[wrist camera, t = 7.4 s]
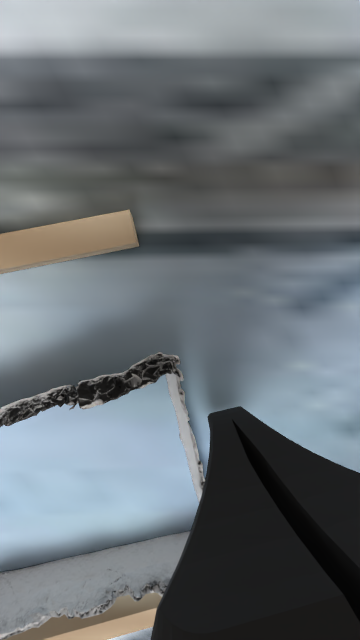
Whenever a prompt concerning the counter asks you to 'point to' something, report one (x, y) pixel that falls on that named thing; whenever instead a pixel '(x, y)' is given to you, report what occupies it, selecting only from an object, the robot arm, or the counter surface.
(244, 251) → the counter surface
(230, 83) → the counter surface
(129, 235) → the oak frame
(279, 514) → the robot arm
